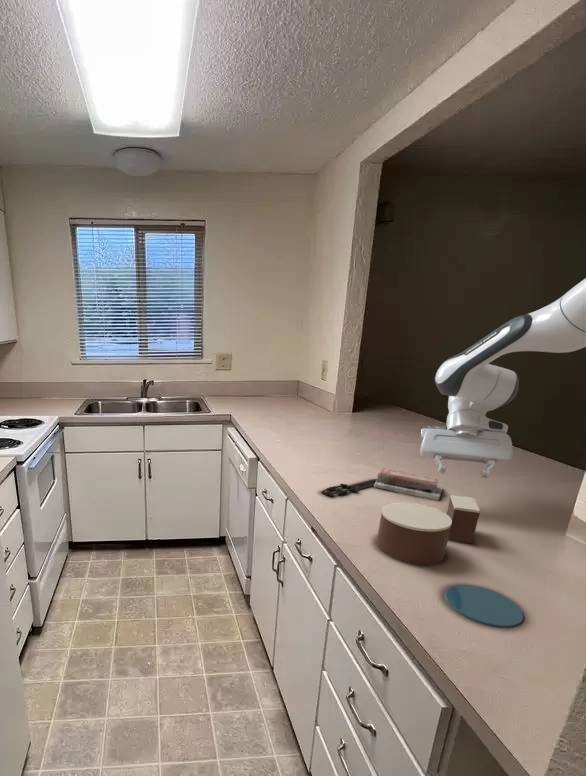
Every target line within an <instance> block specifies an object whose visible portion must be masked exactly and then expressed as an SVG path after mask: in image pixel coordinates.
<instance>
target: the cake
mask: <svg viewBox="0 0 586 776" xmlns="http://www.w3.org/2000/svg"><path fill="white" fill-rule="evenodd" d="M451 524H452V520H451V518H450V517H449V516H448V515H447V512H444V511H442V510H440V509H438V508H435V507H432V506H429V505H426V504H421V503H417V502H408V501H407V502H405V501H400V502H399V501H397V502H391V503H387V504H385V505H383V506H382V508H381V514H380V519H379V526H378V531H377V539H376V546H377V548H378V549H379V550H380V551H381V552H382V553H383V554H385V555H386V556H388V557H391V558H392V559H394V560H397V561H401V562H404V563H408V564H412V565H413V564H415V565H422V566H423V565H425V566H426V565H434V564H437V563H438V564H439V563H441V562H442V561H443V560H444V558H445V554H446V551H447V546H448V541H449V540H448V537H449V533H450V529H451Z"/></svg>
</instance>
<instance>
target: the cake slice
mask: <svg viewBox="0 0 586 776" xmlns="http://www.w3.org/2000/svg"><path fill="white" fill-rule="evenodd" d="M480 513H481V510H480V507H479V505H478V504H477V500H476V499H475V497H469V496H461V495H454V494H451V495H450V497H449V502H448V505H447V511H446V514H447V515H448V516H449V517H450V518H451V520H452V524H451V529H450V533H449V537H448V541H452V542H459V543H464V544H470V545H472V544H473V541H474V537H475V533H476V529H477V525H478V522H479V518H480Z"/></svg>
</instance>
